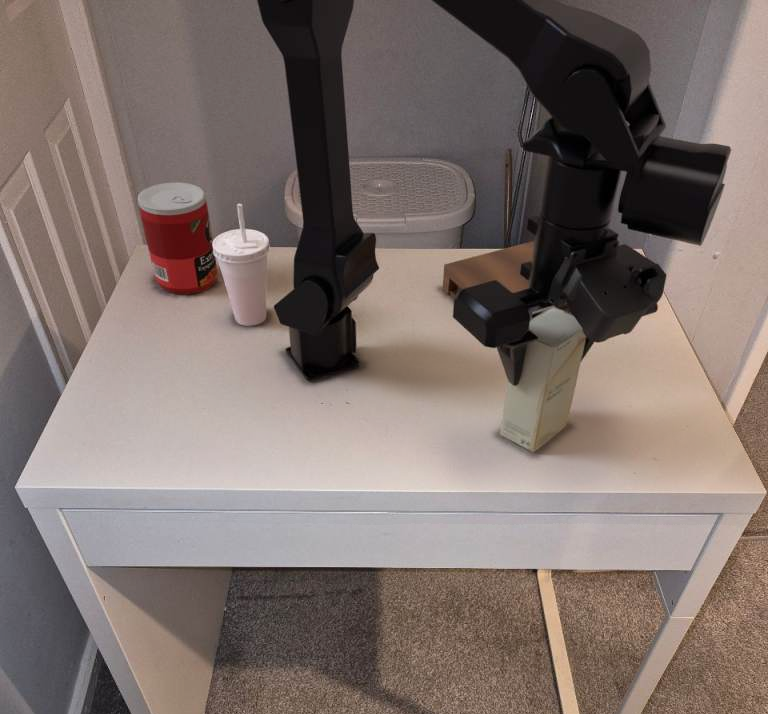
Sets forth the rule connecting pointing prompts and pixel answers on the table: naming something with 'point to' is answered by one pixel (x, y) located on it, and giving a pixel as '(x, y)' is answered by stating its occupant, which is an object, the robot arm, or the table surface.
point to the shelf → (491, 271)
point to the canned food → (178, 237)
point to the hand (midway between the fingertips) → (543, 373)
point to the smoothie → (244, 270)
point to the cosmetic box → (544, 381)
